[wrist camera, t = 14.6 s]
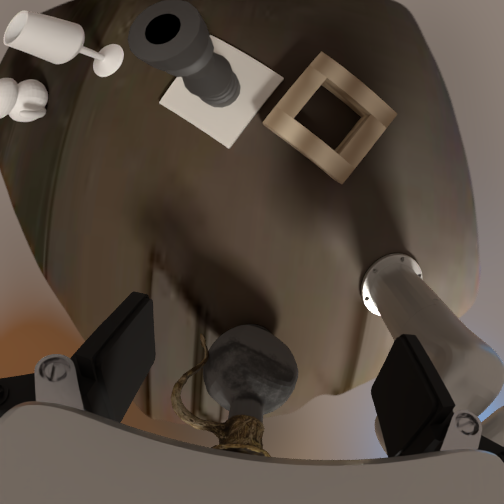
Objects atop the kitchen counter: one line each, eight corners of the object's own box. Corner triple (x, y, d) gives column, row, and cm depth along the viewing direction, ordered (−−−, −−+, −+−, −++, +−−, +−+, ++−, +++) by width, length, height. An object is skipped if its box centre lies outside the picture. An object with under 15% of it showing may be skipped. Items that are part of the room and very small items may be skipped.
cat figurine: (36, 74, 38) (-14, 67, 24) (64, 95, 40) (9, 88, 26) (18, 110, 41) (-31, 111, 26) (45, 134, 42) (-10, 138, 28)
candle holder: (207, 67, 37) (142, -4, 14) (245, 75, 38) (216, -1, 14) (195, 102, 39) (114, 62, 16) (233, 112, 40) (187, 70, 16)
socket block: (384, 116, 39) (397, 114, 34) (334, 180, 43) (342, 184, 39) (316, 60, 37) (321, 51, 32) (263, 125, 41) (262, 122, 36)
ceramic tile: (283, 79, 38) (283, 78, 37) (229, 148, 43) (228, 148, 42) (211, 36, 36) (210, 34, 35) (161, 103, 40) (158, 102, 40)
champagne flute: (120, 75, 39) (24, 44, 16) (90, 78, 39) (-7, 59, 16) (126, 41, 36) (40, -4, 14) (96, 46, 36) (7, 13, 14)
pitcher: (271, 371, 57) (266, 500, 29) (191, 329, 55) (139, 458, 27) (303, 338, 54) (318, 477, 26) (217, 289, 51) (168, 429, 23)
